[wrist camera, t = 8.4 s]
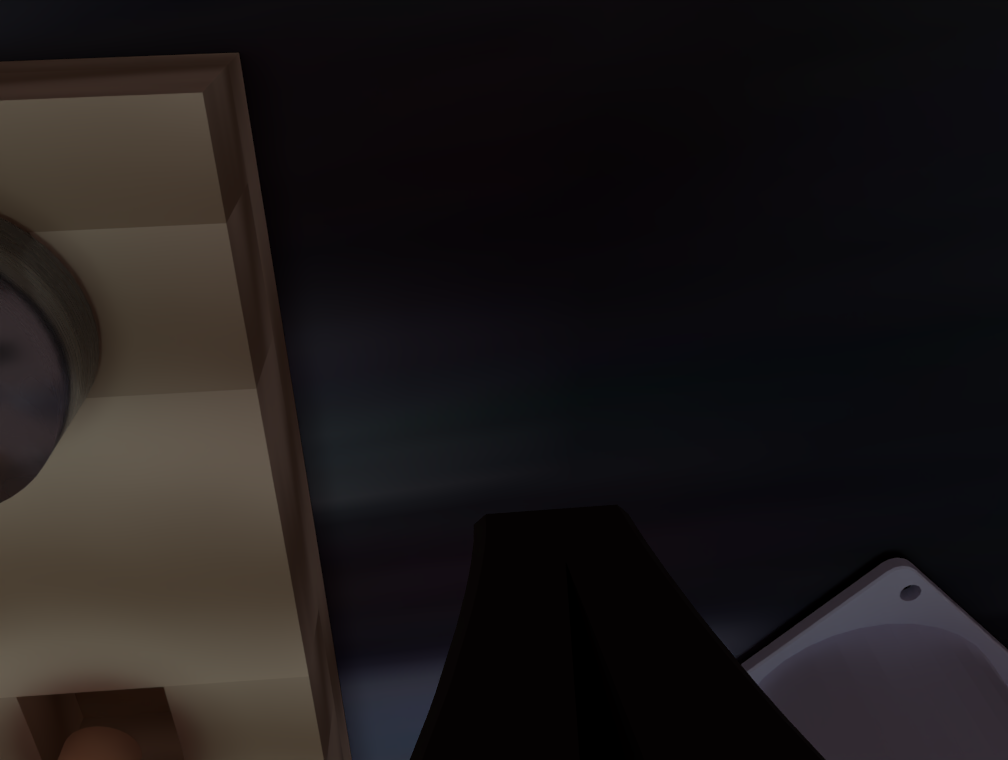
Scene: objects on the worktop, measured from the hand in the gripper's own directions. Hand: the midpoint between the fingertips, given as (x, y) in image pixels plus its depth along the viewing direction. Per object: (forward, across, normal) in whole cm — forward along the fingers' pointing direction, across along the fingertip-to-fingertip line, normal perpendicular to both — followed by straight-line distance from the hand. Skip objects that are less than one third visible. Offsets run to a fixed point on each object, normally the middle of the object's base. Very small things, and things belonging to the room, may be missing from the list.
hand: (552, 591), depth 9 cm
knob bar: (+10, +9, +10) cm, 17 cm away
